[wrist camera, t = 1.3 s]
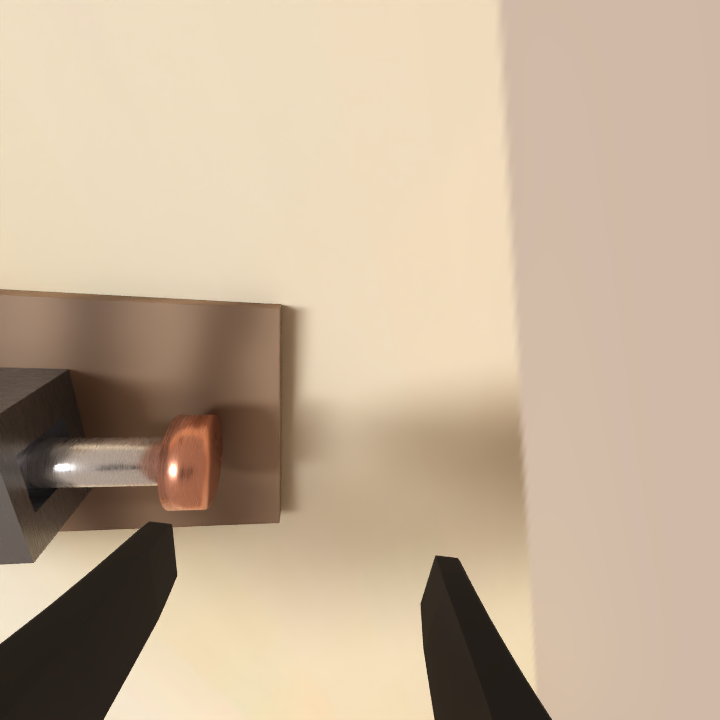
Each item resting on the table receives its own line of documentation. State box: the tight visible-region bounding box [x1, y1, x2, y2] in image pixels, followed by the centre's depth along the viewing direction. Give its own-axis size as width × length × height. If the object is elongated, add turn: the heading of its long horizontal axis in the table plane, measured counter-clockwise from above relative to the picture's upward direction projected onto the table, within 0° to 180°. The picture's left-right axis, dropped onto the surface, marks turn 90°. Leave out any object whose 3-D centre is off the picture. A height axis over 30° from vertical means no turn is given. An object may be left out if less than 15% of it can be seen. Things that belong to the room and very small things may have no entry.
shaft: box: [16, 414, 223, 511], centre depth 16 cm, size 10×4×4 cm, turn 85°
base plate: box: [0, 290, 281, 531], centre depth 19 cm, size 19×14×1 cm
